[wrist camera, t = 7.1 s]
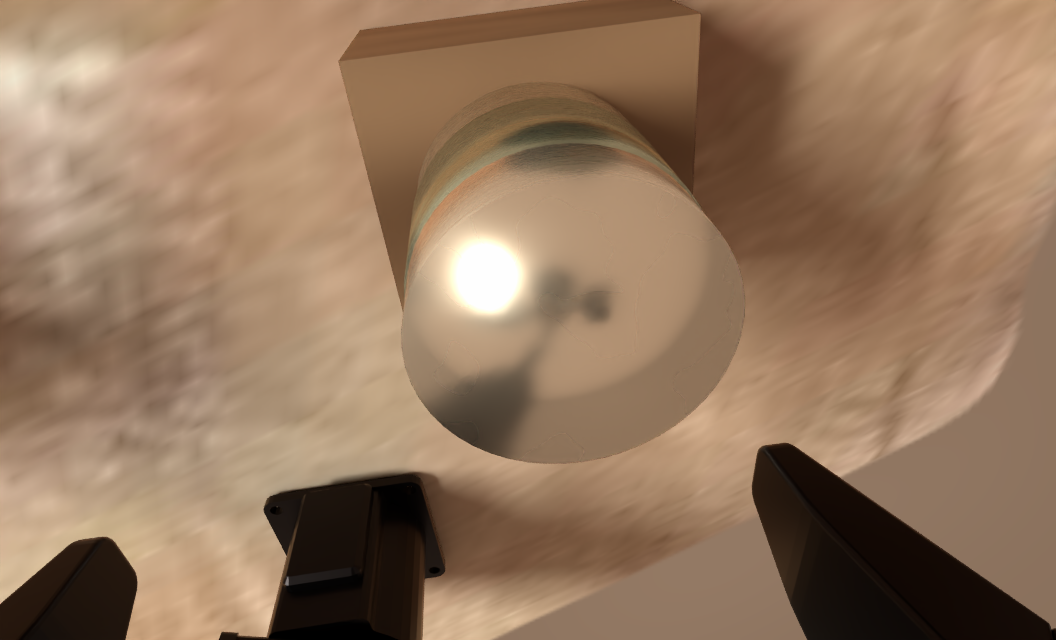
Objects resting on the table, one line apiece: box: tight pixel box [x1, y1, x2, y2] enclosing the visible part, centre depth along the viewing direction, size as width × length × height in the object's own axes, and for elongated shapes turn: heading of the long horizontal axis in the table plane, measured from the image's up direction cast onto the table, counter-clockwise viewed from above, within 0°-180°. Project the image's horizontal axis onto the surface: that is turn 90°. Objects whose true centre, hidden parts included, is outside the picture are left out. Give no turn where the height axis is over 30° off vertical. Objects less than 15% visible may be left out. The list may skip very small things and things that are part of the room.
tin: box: [401, 82, 745, 464], centre depth 13 cm, size 6×6×6 cm
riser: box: [338, 0, 701, 310], centre depth 18 cm, size 8×8×4 cm
